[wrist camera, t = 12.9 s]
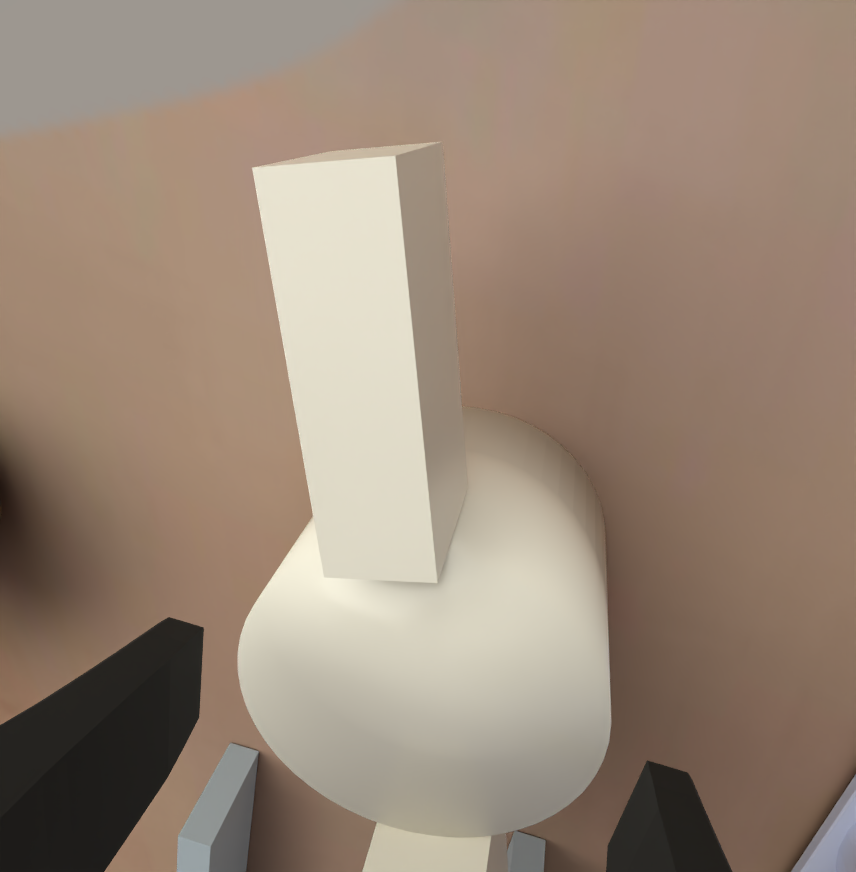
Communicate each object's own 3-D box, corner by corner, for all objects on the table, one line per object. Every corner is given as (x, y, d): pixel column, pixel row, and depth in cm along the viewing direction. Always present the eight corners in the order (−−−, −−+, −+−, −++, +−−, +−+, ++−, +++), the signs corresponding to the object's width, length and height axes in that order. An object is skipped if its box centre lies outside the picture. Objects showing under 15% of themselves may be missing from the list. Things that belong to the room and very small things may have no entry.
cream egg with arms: (276, 148, 16) (66, 183, 9) (611, 119, 14) (627, 136, 8) (372, 744, 23) (288, 988, 16) (602, 767, 21) (606, 1047, 15)
